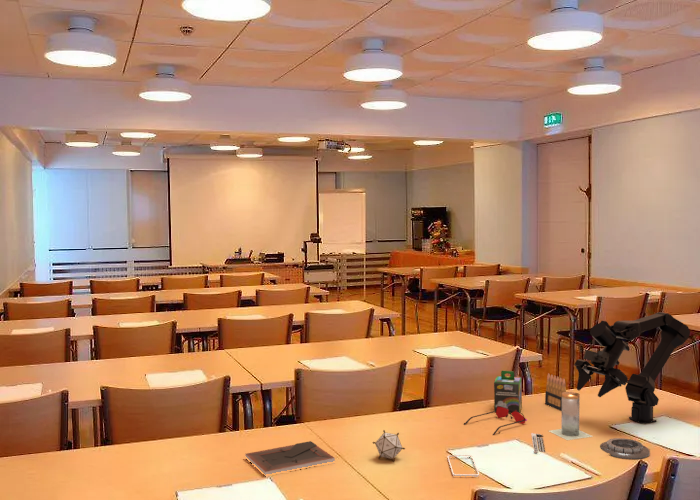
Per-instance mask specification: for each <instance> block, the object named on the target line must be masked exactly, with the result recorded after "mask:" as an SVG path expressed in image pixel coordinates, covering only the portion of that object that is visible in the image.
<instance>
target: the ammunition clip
mask: <svg viewBox="0 0 700 500" xmlns="http://www.w3.org/2000/svg"><path fill="white" fill-rule="evenodd" d="M546 379H547V380H546V390H545V397H544V398H545V399H544V404H545V406H548V405H549V407H550V406H551V407H550V408H553V409H556V410H558V411H560V412H562V393H563V392H567V389H566V380H565V378H562V377H559V376H556V375H555V374H554V375H553V374H551V375H550V373H549V372H548V373H547V377H546Z"/></svg>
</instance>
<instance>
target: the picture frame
mask: <svg viewBox="0 0 700 500" xmlns="http://www.w3.org/2000/svg"><path fill="white" fill-rule="evenodd" d="M244 455H245V456H246V457H247V458H248V459H249V460H250V461H251V462H252V463H253V464H255V465H256V466H257V467H258V468H259V469H260V470H261V471H262V472H263V473H264V474H265V475H266V474H272V473H276V472H281V471H287V470H292V469H297V468H302V467H308V466H312V465H317V464H322V463H327V462H333V461H335V459H336V458H335V457H334V456H333V455H331V454H330V453H328V452H327V451H325V450H324V449H323V448H321V447H319V446H318V444H316V443H314V442H313V441H312V440H309V441H304V442H299V443H295V444H291V445H285V446H280V447H275V448H269V449H264V450H259V451H252V452H247V453H245V454H244ZM245 456H244V457H245ZM335 462H336V461H335Z"/></svg>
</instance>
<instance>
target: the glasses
mask: <svg viewBox="0 0 700 500" xmlns="http://www.w3.org/2000/svg"><path fill="white" fill-rule="evenodd" d="M496 409H497V411H489V412H486V413H482V414H478V415H475V416H474V415H473V416H471V417H470V418H468V419H467V420H466V422H465V423H464V424H463V426H466V425H467V424H468V423H469V421H470V420H472V419H473V418H477V417H481V416H486V415H488V414H493V413H495V415H496V418H498V419H501V418H508V417H509V413H508V411H509V410H511V409H509V410H508V408H505V407H501V406H497V407H496ZM512 411H514V410H512ZM510 414H511V415H510V417H509V418H510V419H511V421H512V420H513V419H514V421H515V422H511V423H508V424H503V425H500V426H498V427H497V428H496V429H495V431H494V432H493V433H492V436H495V435H496V434H497V432H498V431H499V430H500V429H501V428H503V427H507V426H510V425H514V424H518V423H519V424H522V425H524V424H526V422H527V421H528V419H527V418H526V417H525V415H524V414H523V413H522V412H521V411H520V412H518V411H516V410H515V411H514V412H512V413H510Z"/></svg>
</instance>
